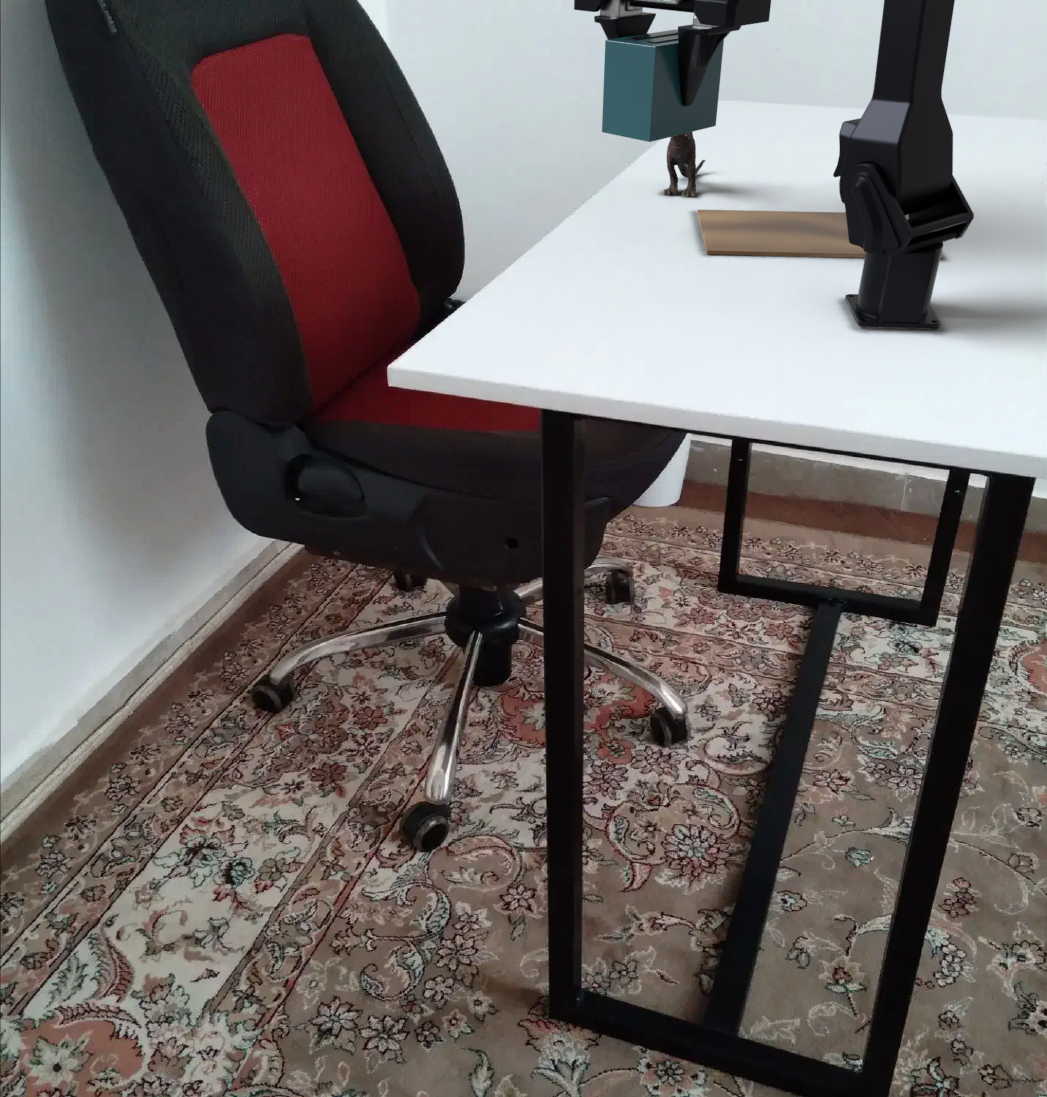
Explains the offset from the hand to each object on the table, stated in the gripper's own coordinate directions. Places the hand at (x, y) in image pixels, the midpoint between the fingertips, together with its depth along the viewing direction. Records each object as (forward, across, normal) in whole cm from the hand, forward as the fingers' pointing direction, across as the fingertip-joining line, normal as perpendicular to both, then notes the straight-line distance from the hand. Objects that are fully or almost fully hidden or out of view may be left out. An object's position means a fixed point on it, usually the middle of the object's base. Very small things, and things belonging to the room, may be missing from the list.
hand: (661, 101), depth 98 cm
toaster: (+2, 0, 0) cm, 2 cm away
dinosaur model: (+13, +9, -16) cm, 22 cm away
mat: (+12, -12, -11) cm, 20 cm away
